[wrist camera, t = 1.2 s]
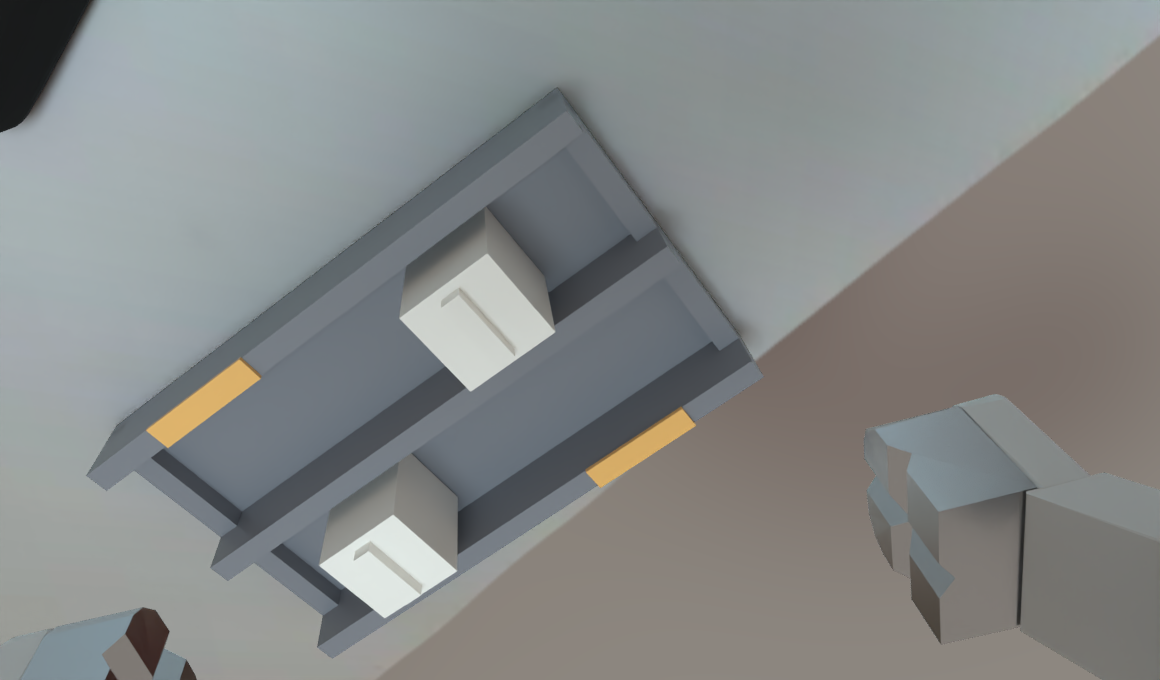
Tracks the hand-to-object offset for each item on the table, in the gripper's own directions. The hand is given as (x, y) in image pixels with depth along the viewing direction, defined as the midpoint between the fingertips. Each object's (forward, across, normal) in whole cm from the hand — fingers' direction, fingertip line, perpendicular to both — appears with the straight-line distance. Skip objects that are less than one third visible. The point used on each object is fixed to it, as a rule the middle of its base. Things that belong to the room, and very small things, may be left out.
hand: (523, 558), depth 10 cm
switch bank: (+27, +5, +12) cm, 30 cm away
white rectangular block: (+26, +2, +7) cm, 27 cm away
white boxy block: (+27, +8, +17) cm, 33 cm away
